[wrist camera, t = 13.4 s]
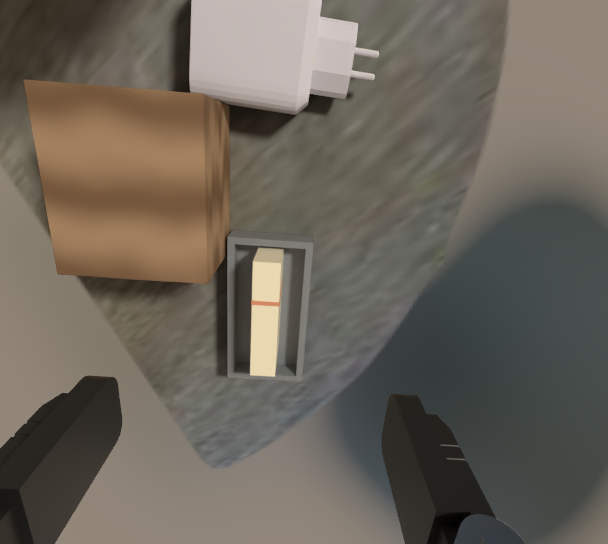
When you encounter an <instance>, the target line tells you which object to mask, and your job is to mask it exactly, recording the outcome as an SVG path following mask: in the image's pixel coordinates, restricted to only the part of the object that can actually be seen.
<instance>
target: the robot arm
mask: <svg viewBox="0 0 608 544" xmlns="http://www.w3.org/2000/svg"><path fill="white" fill-rule="evenodd" d="M121 428H122V414H121V406H120V399H119V391H118V383H117V380H116V379H115V378H114V377H101V376H85V377H84V378H82V379H81V380H80V381H79V382H78V384H77V385H76V386H75V387H74V388H73V389H72V390H71V391H70V392H69V393H62V394H60V395H59V396H57V397H55V398H54V399H52V400H50V401H49V402H47V403H46V404H44V405H43V406H41V407H40V408H39V409H38V411H36V412H35V414H34V415H33V416H32V417H31V418H30V419H29V420H28V421H27V424H24V425H23V426H22V427H21V428H20V429H19V430H18V431H17V432H16V433H15V436H14V437H11V438H10V439H9V440H8V441H7V442H6V443H5V444H4V445H3V446H2V447H1V448H0V544H55V542H56V541H57V539H58V537H59V536H60V534H61V532H62V531H63V529H64V527H65V526H66V524H67V523H68V521H69V519H70V518H71V516H72V514H73V513H74V511H75V509H76V508H77V506H78V504H79V503H80V501H81V500H82V498H83V496H84V495H85V493H86V491H87V489H88V488H89V487H90V485H91V483H92V482H93V480H94V478H95V477H96V475H97V474H98V472H99V470H100V468H101V467H102V465H103V464H104V462H105V460H106V459H107V457H108V456H109V454H110V452H111V450H112V449H113V447H114V446H115V444H116V442H117V440H118V438H119V436H120V432H121ZM382 453H383V458H384V463H385V466H386V470H387V474H388V478H389V482H390V485H391V490H392V493H393V498H394V502H395V505H396V509H397V513H398V517H399V521H400V525H401V529H402V533H403V537H404V541H405V544H526V543H525V542H524V540H523V539H522V538H521V537H520V536H519V535H518V534H517V533H516V532H515V531H514V530H513V529H512V528H511V527H509V526H508V525H507V524H505V523H504V522H502V521H500V520H498V519H496V517H495V515H494V513H493V511H492V509H491V508H490V505H489V503H488V502H487V500H486V498H485V496H484V494H483V492H482V490H481V488H480V486H479V484H478V482H477V480H476V478H475V476H474V475H473V472H472V470H471V469H470V466H469V465H468V463H467V462H466V461H465V457H464V455H463V453H462V451H461V449H460V448H459V447H458V443H457V441H456V439H455V437H454V435H453V433H452V431H451V429H450V428H449V427H448V426H447V425H446V424H445V423H444V422H443V421H442V420H441V419H440V418H439V417H438V416H437V415H433V414H426V412H425V410H424V408H423V405H422V403H421V401H420V399H419V397H418V396H417V395H405V394H391V395H390V397H389V400H388V406H387V411H386V416H385V422H384V427H383V432H382Z"/></svg>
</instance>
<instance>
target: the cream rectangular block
mask: <svg viewBox="0 0 608 544" xmlns="http://www.w3.org/2000/svg"><path fill="white" fill-rule="evenodd" d="M283 259H284V248H282V247H268V246H259V247H258V250H257V252H256V255H255V257H254V260H253V274H252V300H251V305H252V315H251V356H250V375H253V376H271V377H275V373H276V364H277V356H278V347H279V331H280V313H281V295H282V283H283V279H282V277H283Z"/></svg>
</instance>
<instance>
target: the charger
mask: <svg viewBox="0 0 608 544" xmlns="http://www.w3.org/2000/svg"><path fill="white" fill-rule="evenodd" d="M321 4H322V0H192V2H191V36H190V69H189V82H190V93H199V94H205V95H207V96H209V97H211V98H213V99H215V100H218V101H220V102H222V103H224V104H229V105H235V106H242V107H248V108H254V109H261V110H267V111H274V112H280V113H286V114H293V115H297V114H298V113H299V112H300V111H302V110H303V109H304V108H305V107H306V106H308V101H309V94H315V95H321V96H327V97H333V98H340V99H346V95H347V91H348V86H349V81H350V77H351V78H357V79H363V80H370V81H373V80H374V78H375V76H374V74H370V73H364V72H358V71H352V64H353V58H354V55H359V56H365V57H371V58H378V56H379V52H378V51H374V50H368V49H362V48H356V47H355V46H356V39H357V31H358V23H354V22H348V21H342V20H336V19H331V18H325V17H320V11H321Z"/></svg>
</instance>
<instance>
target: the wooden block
mask: <svg viewBox="0 0 608 544" xmlns="http://www.w3.org/2000/svg"><path fill="white" fill-rule="evenodd" d="M23 80H24V86H25V91H26V97H27V103H28V108H29V114H30V120H31V126H32V131H33V137H34V143H35V148H36V154H37V160H38V165H39V171H40V177H41V182H42V188H43V194H44V199H45V205H46V211H47V217H48V222H49V228H50V234H51V239H52V245H53V251H54V256H55V262H56V267H57V273H58V274H62V275H77V276H93V277H108V278H116V279H131V280H147V281H162V282H185V283H201V284H208V282H209V281H210V279H211V278H212V276H213V275H214V273H215V272H216V270H217V269H218V267H219V266H220V264H221V263H222V261H223V259H224V258H225V256H226V255H227V237H228V235H229V234H230V106H228V105H226V104H224V103H222V102H220V101H218V100H215V99H213V98H211V97H209V96H207V95H205V94H199V93H187V92H174V91H162V90H149V89H137V88H124V87H112V86H99V85H87V84H74V83H62V82H49V81H37V80H25V79H23Z"/></svg>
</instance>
